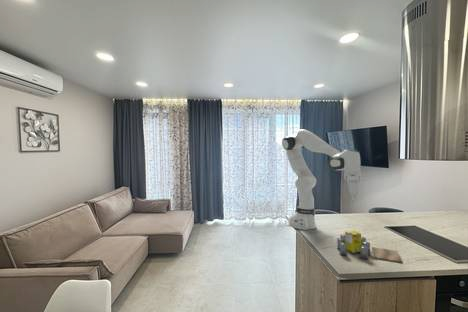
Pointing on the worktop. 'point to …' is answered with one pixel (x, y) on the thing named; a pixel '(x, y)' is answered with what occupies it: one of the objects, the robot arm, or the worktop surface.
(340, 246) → the spacer field
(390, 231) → the worktop surface
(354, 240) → the supplement box
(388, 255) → the walnut pad
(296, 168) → the robot arm
